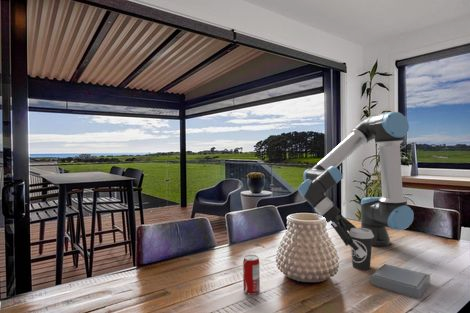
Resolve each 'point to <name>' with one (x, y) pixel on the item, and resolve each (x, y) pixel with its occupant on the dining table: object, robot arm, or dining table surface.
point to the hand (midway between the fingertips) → (366, 250)
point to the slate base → (401, 280)
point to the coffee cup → (365, 242)
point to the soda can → (251, 274)
